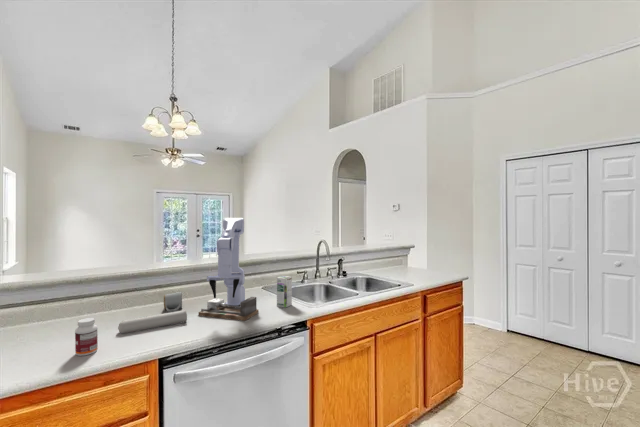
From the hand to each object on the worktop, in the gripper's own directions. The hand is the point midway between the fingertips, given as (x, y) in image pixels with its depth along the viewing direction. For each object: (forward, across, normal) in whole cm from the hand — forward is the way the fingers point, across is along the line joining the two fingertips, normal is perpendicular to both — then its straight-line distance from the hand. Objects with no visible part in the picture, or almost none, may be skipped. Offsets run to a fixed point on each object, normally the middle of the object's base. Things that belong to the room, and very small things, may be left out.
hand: (224, 297), depth 142 cm
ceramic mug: (+8, -25, +26) cm, 37 cm away
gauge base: (+9, +2, +12) cm, 15 cm away
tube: (+11, -28, +2) cm, 30 cm away
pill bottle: (+14, -44, -20) cm, 50 cm away
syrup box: (+8, +28, +19) cm, 35 cm away
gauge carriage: (+7, -4, +13) cm, 15 cm away
